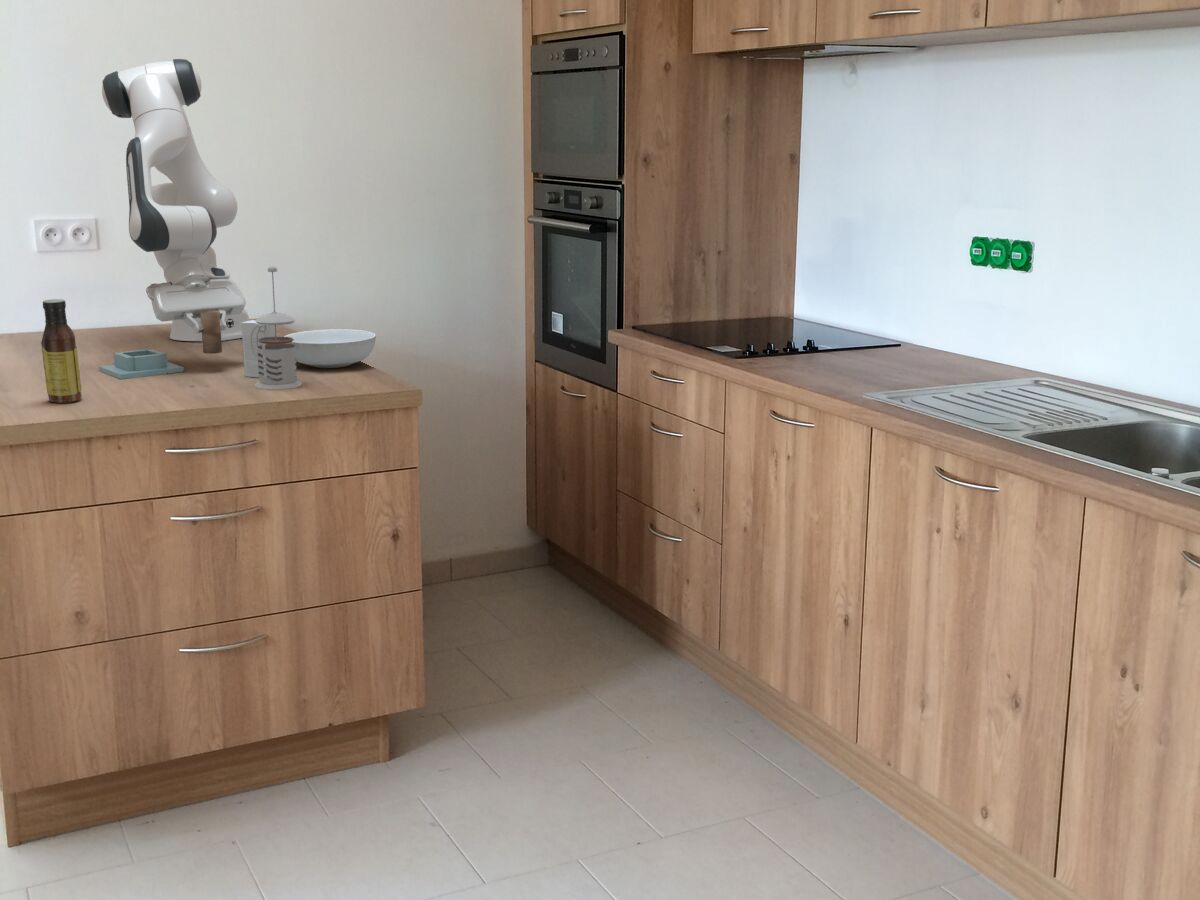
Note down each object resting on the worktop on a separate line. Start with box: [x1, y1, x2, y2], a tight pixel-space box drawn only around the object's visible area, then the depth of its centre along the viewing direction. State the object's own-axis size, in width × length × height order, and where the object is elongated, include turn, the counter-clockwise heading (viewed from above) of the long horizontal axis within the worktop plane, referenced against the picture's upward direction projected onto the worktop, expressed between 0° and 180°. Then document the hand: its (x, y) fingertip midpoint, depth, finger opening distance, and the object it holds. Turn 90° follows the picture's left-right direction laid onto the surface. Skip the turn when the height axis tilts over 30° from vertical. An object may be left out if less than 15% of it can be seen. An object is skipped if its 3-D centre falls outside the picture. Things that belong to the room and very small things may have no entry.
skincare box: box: [241, 319, 275, 378], centre depth 267 cm, size 6×4×12 cm
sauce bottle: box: [40, 298, 82, 404], centre depth 238 cm, size 6×6×20 cm
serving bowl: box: [283, 328, 377, 369], centre depth 282 cm, size 21×21×7 cm
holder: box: [98, 348, 184, 380], centre depth 271 cm, size 14×12×4 cm
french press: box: [250, 265, 303, 390], centre depth 257 cm, size 10×12×25 cm
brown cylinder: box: [200, 310, 223, 355], centre depth 270 cm, size 4×4×9 cm
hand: (211, 330), depth 270 cm, fingers closed on brown cylinder, 4 cm apart
